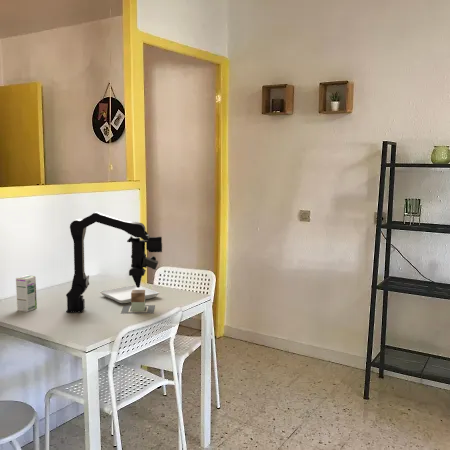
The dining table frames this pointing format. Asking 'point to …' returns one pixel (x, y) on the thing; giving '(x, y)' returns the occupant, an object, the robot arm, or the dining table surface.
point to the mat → (148, 310)
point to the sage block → (137, 306)
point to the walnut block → (138, 296)
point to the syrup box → (26, 293)
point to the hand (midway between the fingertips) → (138, 287)
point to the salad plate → (127, 293)
